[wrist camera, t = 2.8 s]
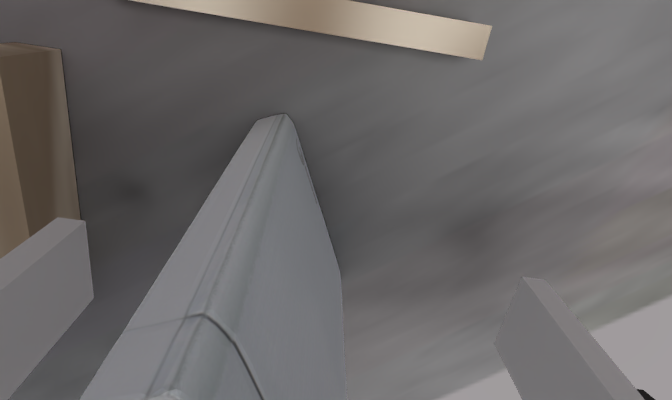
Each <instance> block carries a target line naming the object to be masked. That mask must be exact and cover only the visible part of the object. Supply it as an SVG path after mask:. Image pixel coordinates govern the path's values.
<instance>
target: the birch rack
mask: <svg viewBox="0 0 672 400" xmlns="http://www.w3.org/2000/svg"><path fill="white" fill-rule="evenodd" d="M130 1H136V2H142V3H148V4H154V5H160V6H166V7H172V8H178V9H183V10H189V11H195V12H201V13H207V14H213V15H219V16H225V17H231V18H237V19H242V20H248V21H254V22H260V23H266V24H272V25H278V26H284V27H290V28H295V29H301V30H307V31H313V32H319V33H325V34H331V35H337V36H343V37H349V38H354V39H360V40H366V41H372V42H378V43H384V44H390V45H396V46H402V47H408V48H413V49H419V50H425V51H431V52H437V53H443V54H449V55H455V56H461V57H466V58H472V59H478V60H482V59H483V56H484V53H485V49H486V46H487V42H488V39H489V35H490V32H491V29H492V26H489V25H484V24H478V23H472V22H467V21H461V20H456V19H450V18H444V17H439V16H433V15H428V14H422V13H416V12H411V11H405V10H400V9H394V8H388V7H383V6H377V5H372V4H366V3H360V2H355V1H349V0H130ZM57 217H59V218H67V219H75V220H81V218H80V209H79V201H78V192H77V184H76V175H75V167H74V158H73V150H72V141H71V133H70V124H69V116H68V107H67V99H66V90H65V82H64V73H63V65H62V57H61V49H55V48H49V47H42V46H36V45H29V44H23V43H17V42H12V43H0V259H1V258H2V257H4V256H5V255H6V254H8V253H9V252H11V251H12V250H13V249H15V248H16V247H17V246H19V245H20V244H22V243H23V242H24V241H26V240H27V239H28V238H30V237H31V236H33V235H34V234H35V233H37V232H38V231H39V230H41V229H42V228H44V227H45V226H46V225H48V224H49V223H50V222H52V221H53V220H55V219H56V218H57Z"/></svg>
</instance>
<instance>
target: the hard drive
mask: <svg viewBox="0 0 672 400" xmlns="http://www.w3.org/2000/svg"><path fill="white" fill-rule="evenodd" d="M79 400H347V384H346V368H345V350H344V330H343V308H342V288H341V274H340V269H339V266H338V263H337V259H336V256H335V253H334V250H333V246H332V243H331V240H330V237H329V234H328V231H327V227H326V224H325V221H324V218H323V215H322V212H321V208H320V205H319V202H318V199H317V196H316V193H315V189H314V186H313V183H312V180H311V177H310V174H309V171H308V167H307V164H306V161H305V158H304V154H303V151H302V148H301V145H300V141H299V138H298V135H297V132H296V129H295V126H294V124H293V122H292V121H291V119H290V118H289V116H288V115H287V114H279V115H273V116H270V117H267V118H262V119H259V120H257V121H256V122H255V124H254V125H253V127H252V128H251V130H250V132H249V133H248V134H247V136H246V138H245V139H244V141H243V142H242V144H241V145H240V147H239V149H238V150H237V152H236V153H235V155H234V156H233V158H232V159H231V161H230V163H229V164H228V166H227V167H226V169H225V170H224V172H223V174H222V175H221V177H220V179H219V180H218V182H217V183H216V185H215V186H214V188H213V190H212V191H211V193H210V194H209V196H208V197H207V199H206V201H205V202H204V204H203V206H202V207H201V209H200V210H199V212H198V214H197V215H196V217H195V218H194V220H193V222H192V223H191V225H190V226H189V228H188V230H187V231H186V233H185V234H184V236H183V237H182V239H181V241H180V242H179V244H178V245H177V247H176V249H175V250H174V252H173V253H172V255H171V256H170V258H169V260H168V261H167V263H166V264H165V266H164V267H163V269H162V271H161V272H160V274H159V275H158V277H157V279H156V280H155V282H154V283H153V285H152V287H151V288H150V290H149V291H148V293H147V295H146V296H145V298H144V299H143V301H142V302H141V304H140V306H139V307H138V309H137V310H136V312H135V313H134V315H133V316H132V318H131V320H130V321H129V323H128V325H127V326H126V328H125V329H124V331H123V333H122V334H121V336H120V337H119V338H118V340H117V341H116V343H115V344H114V346H113V347H112V349H111V350H110V352H109V353H108V355H107V356H106V358H105V359H104V361H103V363H102V364H101V366H100V368H99V369H98V371H97V372H96V374H95V376H94V377H93V379H92V380H91V382H90V383H89V385H88V386H87V388H86V390H85V391H84V393H83V394H82V396H81V398H80V399H79Z"/></svg>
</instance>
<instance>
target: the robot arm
mask: <svg viewBox="0 0 672 400" xmlns="http://www.w3.org/2000/svg"><path fill="white" fill-rule="evenodd" d="M93 299H94V294H93V284H92V275H91V266H90V257H89V248H88V239H87V230H86V221H83V220H75V219H67V218H59V217H57V218H56V219H55V220H53V221H52V222H50V223H49V224H48V225H46V226H45V227H44V228H42V229H41V230H39V231H38V232H37V233H35V234H34V235H33V236H31V237H30V238H28V239H27V240H26V241H24V242H23V243H22V244H20V245H19V246H17V247H16V248H15V249H13V250H12V251H11V252H9V253H8V254H6V255H5V256H4V257H2V258H1V259H0V400H8V399H9V398H10V397H11V396H12V394H13V393H14V392H15V391H16V390H17V389H18V387H19V386H20V385H21V384H22V383H23V381H24V380H25V379H26V378H27V377H28V376H29V374H30V373H31V372H32V371H33V370H34V368H35V367H36V366H37V365H38V364H39V363H40V361H41V360H42V359H43V358H44V357H45V355H46V354H47V353H48V352H49V351H50V350H51V348H52V347H53V346H54V345H55V344H56V342H57V341H58V340H59V339H60V338H61V337H62V335H63V334H64V333H65V332H66V331H67V329H68V328H69V327H70V326H71V325H72V324H73V322H74V321H75V320H76V319H77V318H78V316H79V315H80V314H81V313H82V312H83V311H84V309H85V308H86V307H87V306H88V305H89V303H90V302H91V301H92V300H93ZM494 345H495V347H496V348H497V350H498V352H499V354H500V356H501V358H502V360H503V362H504V364H505V366H506V368H507V370H508V372H509V374H510V376H511V378H512V380H513V382H514V384H515V386H516V388H517V390H518V392H519V394H520V396H521V398H522V400H655V399H654V398H652V397H651V396H650V395H649V394H647V393H646V392H645V391H644V390H639V389H636V388H635V387H633V385H632V384H631V382H630V381H629V380H628V379H627V378H626V376H625V375H624V374H623V373H622V371H621V370H620V369H619V368H618V367H617V366H616V364H615V363H614V362H613V361H612V359H611V358H610V357H609V356H608V355H607V353H606V352H605V351H604V350H603V349H602V347H601V346H600V345H599V344H598V343H597V341H596V340H595V339H594V338H593V337H592V335H591V334H590V333H589V332H588V331H587V329H586V328H585V327H584V326H583V325H582V323H581V322H580V321H579V320H578V318H577V317H576V316H575V315H574V314H573V312H572V311H571V310H570V309H569V308H568V306H567V305H566V304H565V303H564V302H563V300H562V299H561V298H560V297H559V296H558V294H557V293H556V292H555V291H554V290H553V288H552V287H551V286H550V285H549V284H548V282H547V281H546V280H545V279H538V278H530V277H521V280H520V282H519V284H518V287H517V289H516V292H515V294H514V296H513V299H512V301H511V304H510V306H509V308H508V311H507V313H506V316H505V318H504V320H503V323H502V325H501V328H500V330H499V332H498V335H497V337H496V340H495V342H494Z"/></svg>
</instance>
